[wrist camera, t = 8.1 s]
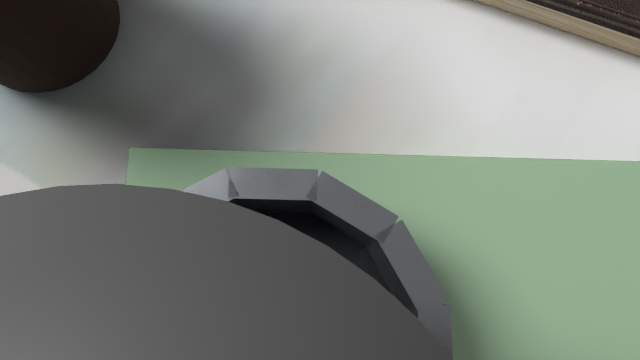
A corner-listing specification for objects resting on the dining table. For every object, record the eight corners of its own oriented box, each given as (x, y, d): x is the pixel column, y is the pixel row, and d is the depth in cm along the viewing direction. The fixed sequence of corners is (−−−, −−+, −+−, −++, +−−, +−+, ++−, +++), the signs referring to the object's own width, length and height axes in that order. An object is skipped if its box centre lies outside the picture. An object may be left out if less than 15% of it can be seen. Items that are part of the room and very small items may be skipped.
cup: (428, 506, 16) (459, 567, 13) (105, 502, 16) (50, 562, 13) (420, 192, 19) (446, 172, 15) (138, 185, 18) (99, 163, 15)
